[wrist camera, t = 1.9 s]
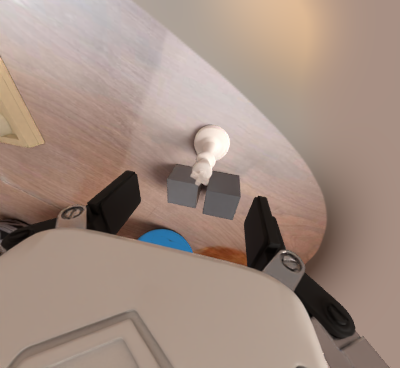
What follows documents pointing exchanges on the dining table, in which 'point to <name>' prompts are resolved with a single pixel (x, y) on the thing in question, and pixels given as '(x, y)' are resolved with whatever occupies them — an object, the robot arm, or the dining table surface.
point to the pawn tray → (15, 115)
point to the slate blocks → (215, 194)
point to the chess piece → (208, 151)
